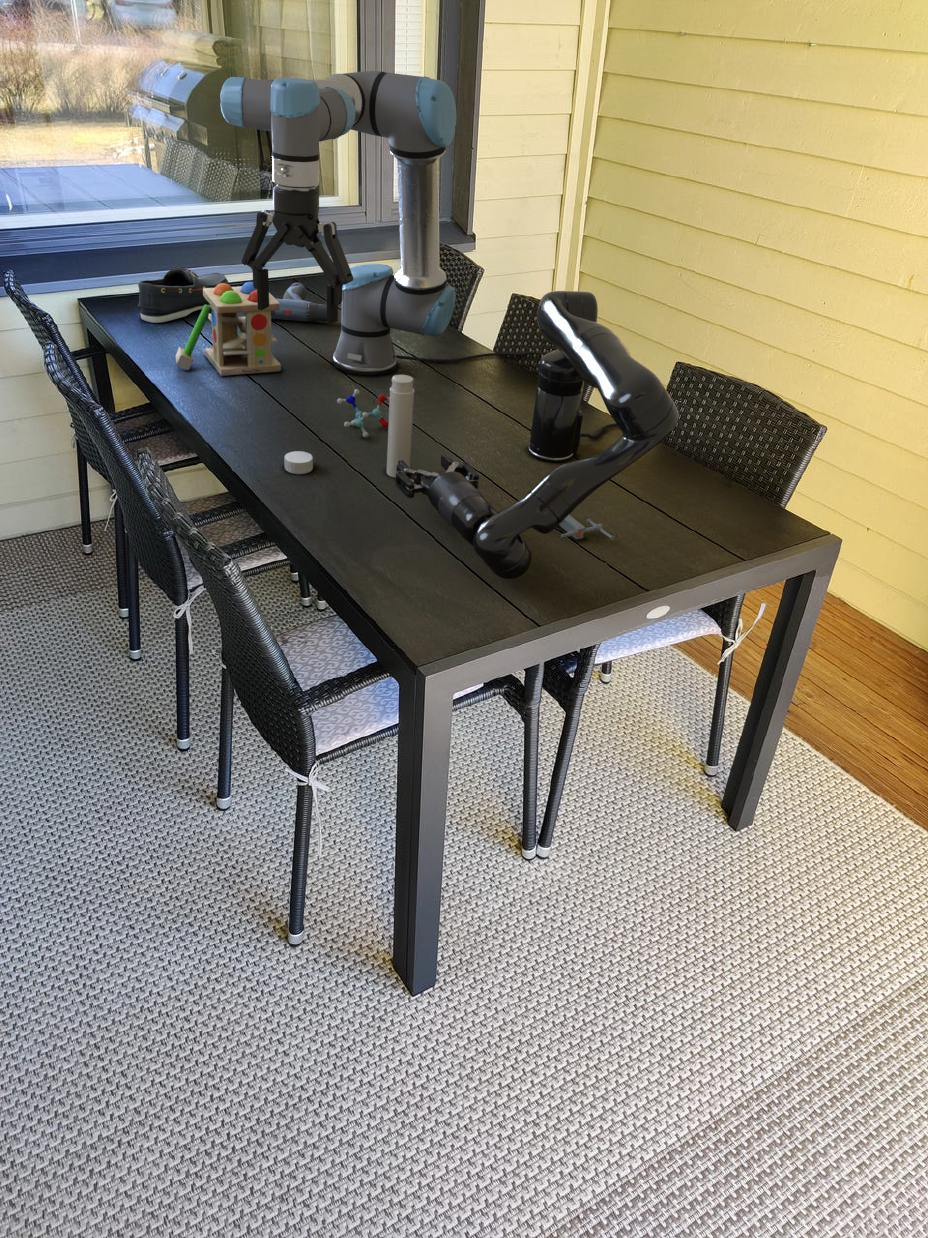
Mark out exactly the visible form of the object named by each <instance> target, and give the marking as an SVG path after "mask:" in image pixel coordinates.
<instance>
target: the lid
mask: <svg viewBox="0 0 928 1238" xmlns="http://www.w3.org/2000/svg"><path fill="white" fill-rule="evenodd" d="M283 460H284V461H283V464H284V467H283V468H284V470H285V471H286V472H288V473H291V474H294V475H304V474H308V473H310V472H312V471H313V468H314V458H313V455H312V454H311V453H309V452H307V451H302V450H301V451H300V450H295V451H289V452H287V453H286V454H285V455H284V459H283Z"/></svg>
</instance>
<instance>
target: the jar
mask: <svg viewBox="0 0 928 1238" xmlns="http://www.w3.org/2000/svg"><path fill="white" fill-rule="evenodd" d="M389 398H390V399H389V400H388V401H389V402H388V428H387V448H386V471H385V472H386V474H387V475H388V476H389V477H391V478H394V479H396V471H397V463H398V461H399V460H403V461H404V462H405V463H406V464H407V465H408V466H409V468H410V469H411V461H412V460H411V458H412V442H413V441H412V440H413V427H414V424H413V423H414V408H415V388H414V377H412V376H410V375H407V374H395V375H393V376H392V378H391V386H390V388H389Z"/></svg>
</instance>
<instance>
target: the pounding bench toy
mask: <svg viewBox="0 0 928 1238" xmlns="http://www.w3.org/2000/svg"><path fill="white" fill-rule="evenodd" d="M203 296H204V297H205V299H206V300H207V301H208V302H209V304H210V305H211V307H210V306H208V305H204V307H203V309H201V312H200V313H199V316H198V318H197V320H196V322H195V324H194V327H193V329H192V331H191V332H190V333H191V334H190V336H189V338H188V340H187V343H186V344H185V347H184V348H182V347H180V346H179V347H178V349H177V351H176V354H175V357H174V358H175V362H176V365H177V366H178V368H179V369H182V370H185V371H189V370H190V369H191V367H192V365H193V363H194V356H193V351H194V348H195V347H196V345H197V342H198V340H199V337H200V336H201V333H202V332H203V329H204V326H205V325H206V322H207V320H209V321H210V322H211V336H212V337H211V338H212V339H211V340H212V348H205V349H204V352H205V353H204V355H205V357H206V359H208V361H209V363H210V364H211V365H212V366H213V367H214V369H215V370H216V371H217V372H218V374H219V375H220V376H222V377H223V376H234V375H235V376H236V375H246V374H247V375H250V374H262V373H275V372H281V370H282V364H281V363H280V362H279V360H278V359H277V358H276V357H275V356H274V355H273V348H272V347H273V345H272V344H276V343H278V342H279V341H278V339H277V338H276V337H275V336H274V334H272V318H271V310H280V303H279V302H278V301H277V300H276V299H277V298H276V297H274V296H273V295H272V294H271V293H270V292H269V307H267V308H265V309H263V310H258V301H257V289H255V288H254V286H253V281H247V282H245V283H244V284H243V285H242V286H232V285H230V284H229V285H228V284H226V283H221V284H218V285H217V286H216V287H215V288H204V289H203ZM238 313H244V314H245V315H244V316H238ZM238 329H239V331H240V333H239V334H238Z"/></svg>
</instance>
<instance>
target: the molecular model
mask: <svg viewBox="0 0 928 1238" xmlns="http://www.w3.org/2000/svg"><path fill="white" fill-rule="evenodd" d="M360 394H361V392H360V390H359V389H358V388H355V389H354V390H353V394H352V395H348V397H347V398H341V397H339V398H337V400H336V403H337V404H338V405H342V404H343V403H348V404H350V405H352V407H353V408H354V411H355V415H354V416H355V418H354V419H353V420H351V421H345V422H344V423H343V426H344V427H345V428H350V426H352V427H357V428H360V430H361V432H362V437H363V438H368V437H369V436H370V435H369V432H368V431H366V430H365V427H364V424H365V421H364V420H365V419H367V418H368V417H369V416H373V418H376V419H377V420H378V421H379V423H380V425H381V427H382V428H383V429H388V423H389V421H387V420H386V419H385V418H384V417H383V415H382V411H381V406H382V404H383V403H384V402H385V401H389V399H390V396H389V397H387V396H385V395H384V394H379V395H378V396H377V400H378V404H377V406H376V408H374V409H373V410H372V411H371V412H367V411H364V412H363V411H361V410H359V408H358V406H357V404H356V397H357V396H359V395H360Z"/></svg>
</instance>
